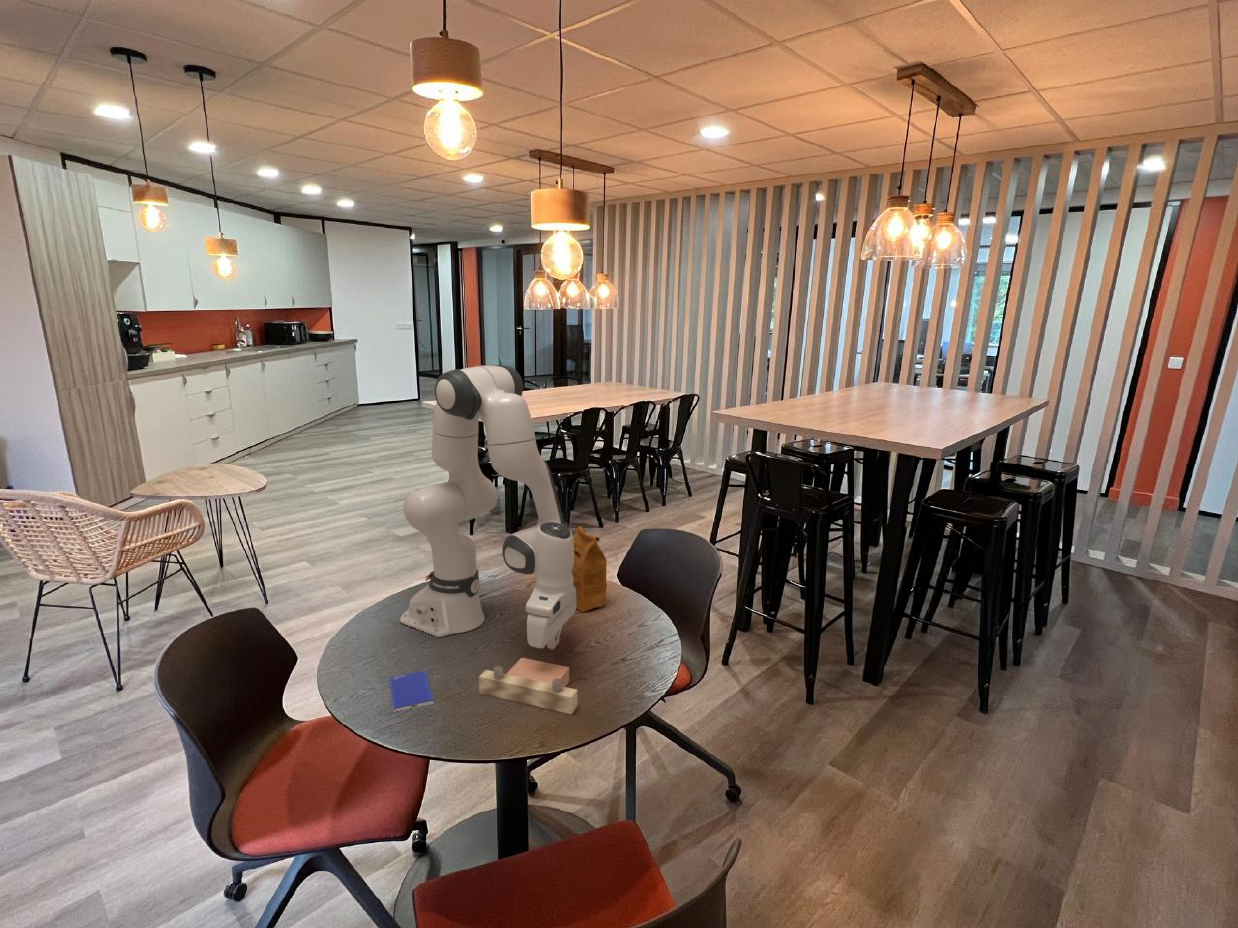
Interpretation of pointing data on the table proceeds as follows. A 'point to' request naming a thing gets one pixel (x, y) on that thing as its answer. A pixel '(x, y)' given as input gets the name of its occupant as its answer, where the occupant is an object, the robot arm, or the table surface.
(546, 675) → the terracotta block
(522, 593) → the table surface
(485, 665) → the table surface
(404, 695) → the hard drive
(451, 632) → the robot arm
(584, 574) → the coffee package
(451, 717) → the table surface
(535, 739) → the table surface
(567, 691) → the stop bar
